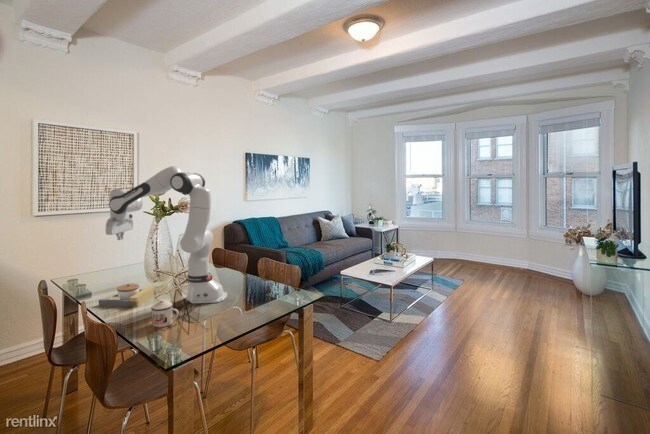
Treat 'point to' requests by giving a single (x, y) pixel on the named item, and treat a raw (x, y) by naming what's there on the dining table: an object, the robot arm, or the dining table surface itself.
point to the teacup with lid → (163, 313)
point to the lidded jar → (127, 291)
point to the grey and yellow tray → (131, 298)
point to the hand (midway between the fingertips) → (120, 239)
